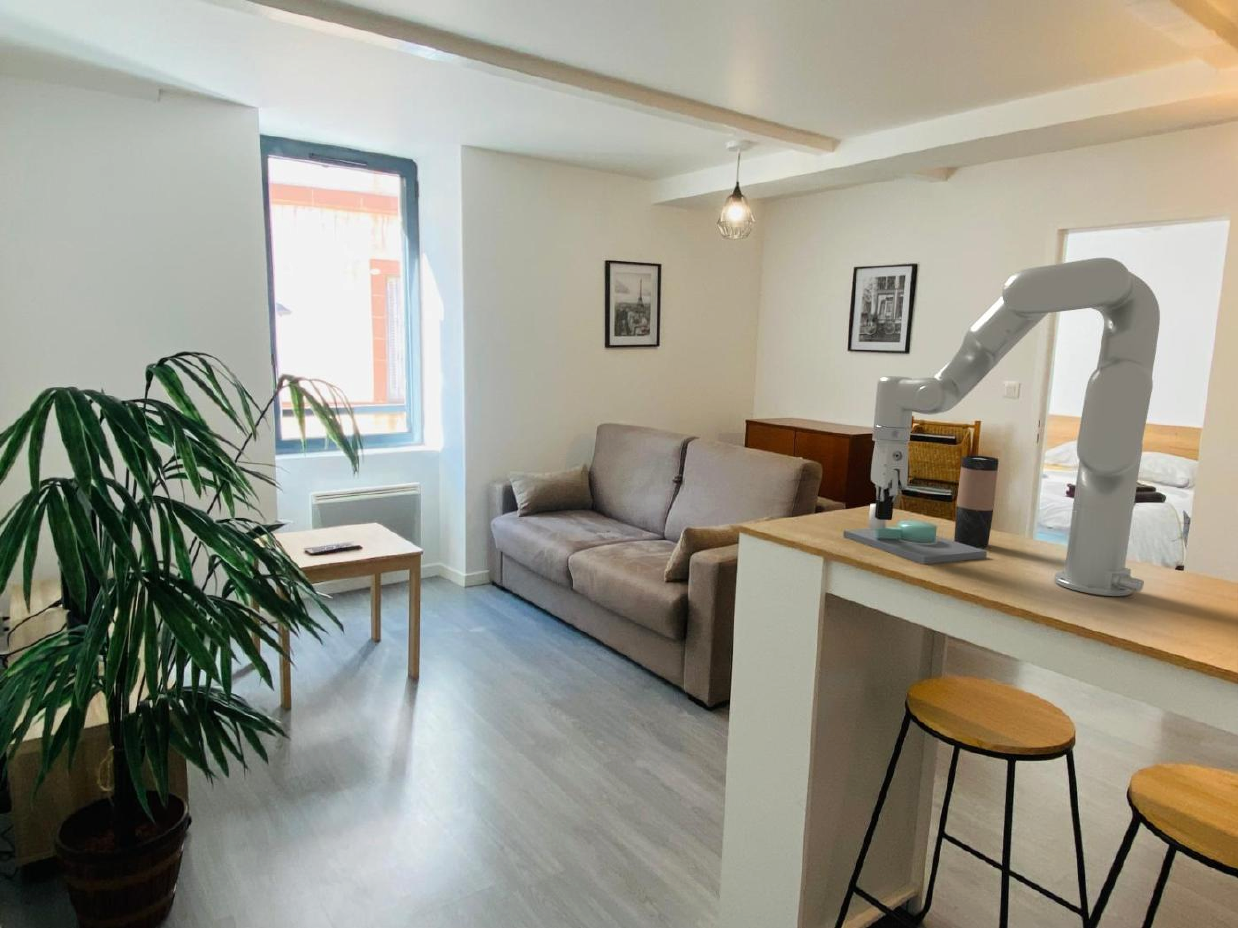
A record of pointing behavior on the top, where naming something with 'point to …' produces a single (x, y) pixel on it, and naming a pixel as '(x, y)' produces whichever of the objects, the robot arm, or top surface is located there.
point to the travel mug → (975, 500)
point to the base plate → (918, 547)
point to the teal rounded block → (902, 529)
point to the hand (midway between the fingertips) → (883, 518)
